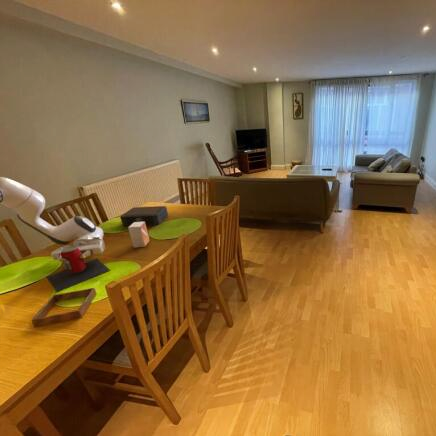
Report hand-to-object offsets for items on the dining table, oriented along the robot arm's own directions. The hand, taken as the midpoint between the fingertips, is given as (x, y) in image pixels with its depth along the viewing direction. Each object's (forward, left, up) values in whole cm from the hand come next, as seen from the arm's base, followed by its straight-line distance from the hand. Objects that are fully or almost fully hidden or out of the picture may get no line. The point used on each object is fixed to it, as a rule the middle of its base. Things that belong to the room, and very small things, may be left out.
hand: (71, 258), depth 112 cm
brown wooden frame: (-9, -25, -9) cm, 29 cm away
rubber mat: (+1, +1, -9) cm, 9 cm away
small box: (+33, +8, -9) cm, 35 cm away
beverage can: (+1, +1, -7) cm, 7 cm away
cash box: (+52, +44, -9) cm, 68 cm away
